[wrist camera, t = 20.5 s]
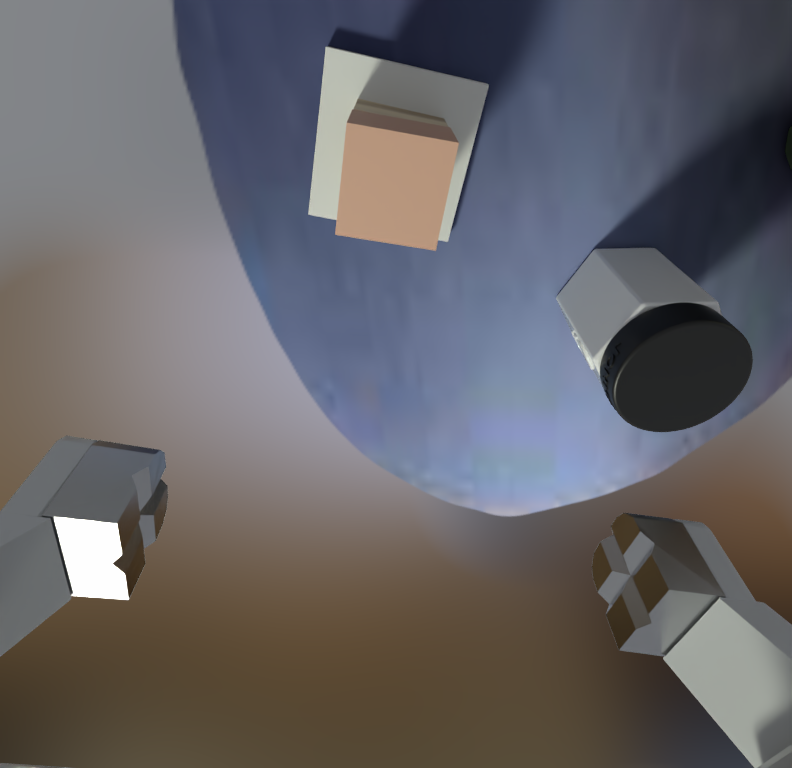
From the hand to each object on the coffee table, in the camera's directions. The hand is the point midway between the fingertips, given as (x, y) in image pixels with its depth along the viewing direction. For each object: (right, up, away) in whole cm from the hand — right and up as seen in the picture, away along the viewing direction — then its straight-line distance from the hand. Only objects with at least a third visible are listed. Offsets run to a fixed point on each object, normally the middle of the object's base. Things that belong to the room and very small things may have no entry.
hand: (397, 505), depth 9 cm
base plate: (0, +18, +26) cm, 31 cm away
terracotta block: (0, +15, +21) cm, 26 cm away
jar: (+17, +9, +32) cm, 37 cm away
